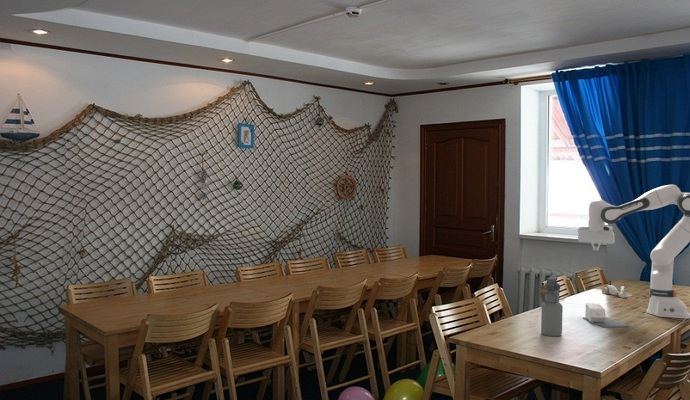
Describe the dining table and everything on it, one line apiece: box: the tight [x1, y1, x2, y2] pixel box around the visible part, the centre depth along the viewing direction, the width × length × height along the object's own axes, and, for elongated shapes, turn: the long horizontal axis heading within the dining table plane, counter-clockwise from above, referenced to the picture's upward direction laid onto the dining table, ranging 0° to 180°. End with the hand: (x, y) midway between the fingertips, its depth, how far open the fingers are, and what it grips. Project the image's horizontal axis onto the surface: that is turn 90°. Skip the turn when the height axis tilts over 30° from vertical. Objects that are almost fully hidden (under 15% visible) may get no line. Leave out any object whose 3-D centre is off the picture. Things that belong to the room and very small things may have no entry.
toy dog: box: [601, 280, 632, 299], centre depth 396 cm, size 12×19×9 cm, turn 34°
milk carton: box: [584, 302, 607, 323], centre depth 324 cm, size 7×7×19 cm
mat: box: [582, 316, 630, 329], centre depth 321 cm, size 20×14×1 cm
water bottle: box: [540, 276, 564, 337], centre depth 295 cm, size 10×10×28 cm
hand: (595, 250), depth 358 cm, fingers closed
